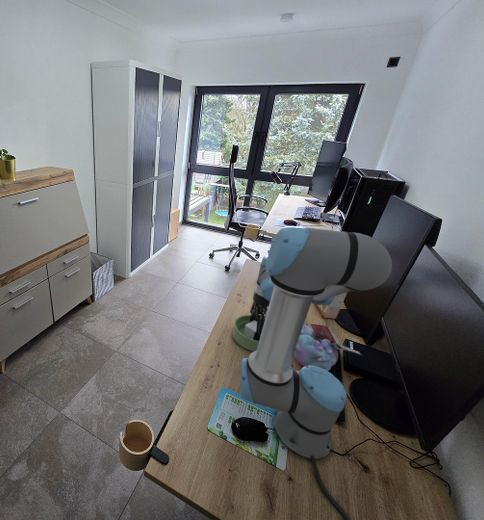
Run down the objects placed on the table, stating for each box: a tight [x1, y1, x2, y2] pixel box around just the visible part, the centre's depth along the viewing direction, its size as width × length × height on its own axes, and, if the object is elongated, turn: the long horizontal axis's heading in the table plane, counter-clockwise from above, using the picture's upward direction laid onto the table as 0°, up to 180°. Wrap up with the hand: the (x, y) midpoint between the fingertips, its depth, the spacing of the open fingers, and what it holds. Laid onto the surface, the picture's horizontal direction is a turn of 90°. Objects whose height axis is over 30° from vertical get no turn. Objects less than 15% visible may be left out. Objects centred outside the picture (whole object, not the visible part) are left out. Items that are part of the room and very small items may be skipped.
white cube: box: [243, 320, 257, 339], centre depth 123 cm, size 6×6×6 cm
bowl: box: [231, 314, 259, 352], centre depth 123 cm, size 17×17×6 cm
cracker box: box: [315, 292, 348, 320], centre depth 139 cm, size 14×6×21 cm, turn 168°
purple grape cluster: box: [293, 322, 362, 372], centre depth 112 cm, size 20×22×18 cm
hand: (253, 336), depth 124 cm, fingers closed on white cube, 8 cm apart
